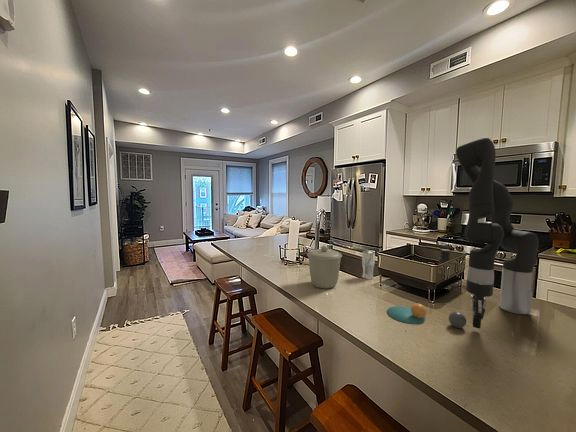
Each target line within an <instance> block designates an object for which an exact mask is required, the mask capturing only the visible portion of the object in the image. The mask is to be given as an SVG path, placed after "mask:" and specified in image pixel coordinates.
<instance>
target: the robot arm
mask: <svg viewBox="0 0 576 432" xmlns="http://www.w3.org/2000/svg"><path fill="white" fill-rule="evenodd" d="M455 155H456V158H457V161H458V164H459V165H460V167H461V168H462V170H463V171H464V173H465V174H466V176H467V177H468V179H469V180H470V182H471V184H472V186H471V188H470V190H469V194H468V208H469V212H468V213H469V214H468V218H467V219H468V220H467V222H466V225H465V229H464V237H465V239H466V241H468V242H469V243H472V244H486V245H485V246H484V247H482V248H474V249H471V250H470V251H469V255H468V268H467V273H466V284H465V286H466V287H465V290H466V292H468V293H469V294H470V295H471V296H470V300H471V311H472V312H471V313H472V327H473V328H475V329H481V327H482V320H483V319H484V316H485V312H486V306H487V300H486V298H489V297H492V296H493V295H494V287H495V285H494V283H495V259H496V255H497V252H498V250H499V247H501V248H502V249H503V250H504V251H507V252H512V253H515V257H514V259H506V260H505V259H504V261H503V262H502V268H501V269H502V271H501V282H500V283H501V284H500V294H499V308H501V309H502V310H504V311H506V312H509V313H511V314H515V315H529V316H531V311H532V310H531V309H532V303H533V302H532V301H533V291H532V280H533V272H534V268H535V265H536V261H537V255H538V252H539V251H538V250H539V245H540V243H539V240H540V239H539V237H538V235H537V234H536V233H534V232H530V231H523V230H519V229H515V227H514V226H513V224H512V222H511V219H510V218H511V214H512V212H513V210H514V206H515V205H514V200H513V197H512V195H511V194H510V193H511V192H510V191H509V190H508V188H507V186H505V184H503V183H501V182H499V181H497V180H496V179H495V178H494V177H495V170H496V157H497V154H496V146H495V143H494V142H493V141H492V139H490V138H489V137H487V136H485V137H480V138H479V139H476V140H475V139H474V140H472V141H470V142H467V143H464V144H462V145H460V146H458V147H457V148H456V150H455ZM480 165H481V168H479V167H478V166H480ZM486 218H489V219H490V222H479V220H481V219H486Z"/></svg>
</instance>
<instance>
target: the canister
mask: <svg viewBox="0 0 576 432" xmlns="http://www.w3.org/2000/svg"><path fill="white" fill-rule="evenodd" d="M306 256H307V257H308V266H309V267H308V268H309V275H310V281H311V284H312V285H313V286H314V287H316V288H320V289H330V288H334V287H336V285H337V284H338V281H339V274H340V268H341V267H340V265H341V259H342V257H343V254H342V253H341V252H339V251H336V250H334V249H329V247H328V246H327V245H322V246H320V248H317V249H313V250H310V251H309V252H308V253H307V254H306Z"/></svg>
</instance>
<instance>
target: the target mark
mask: <svg viewBox="0 0 576 432" xmlns="http://www.w3.org/2000/svg"><path fill="white" fill-rule="evenodd" d="M386 314H387V316H389V317H390V318H392V319H393V320H395V321H397V322H399V323H400V322H401V323H404V324H414V325H417V324H422V323H424V322H425V320H426V316H425V317H423V318H416V317H414V316H413V315H412V313H411V307H407V306H402V305H400V306H398V305H397V306H396V305H394V306H391V307H389V308H387V309H386Z"/></svg>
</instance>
